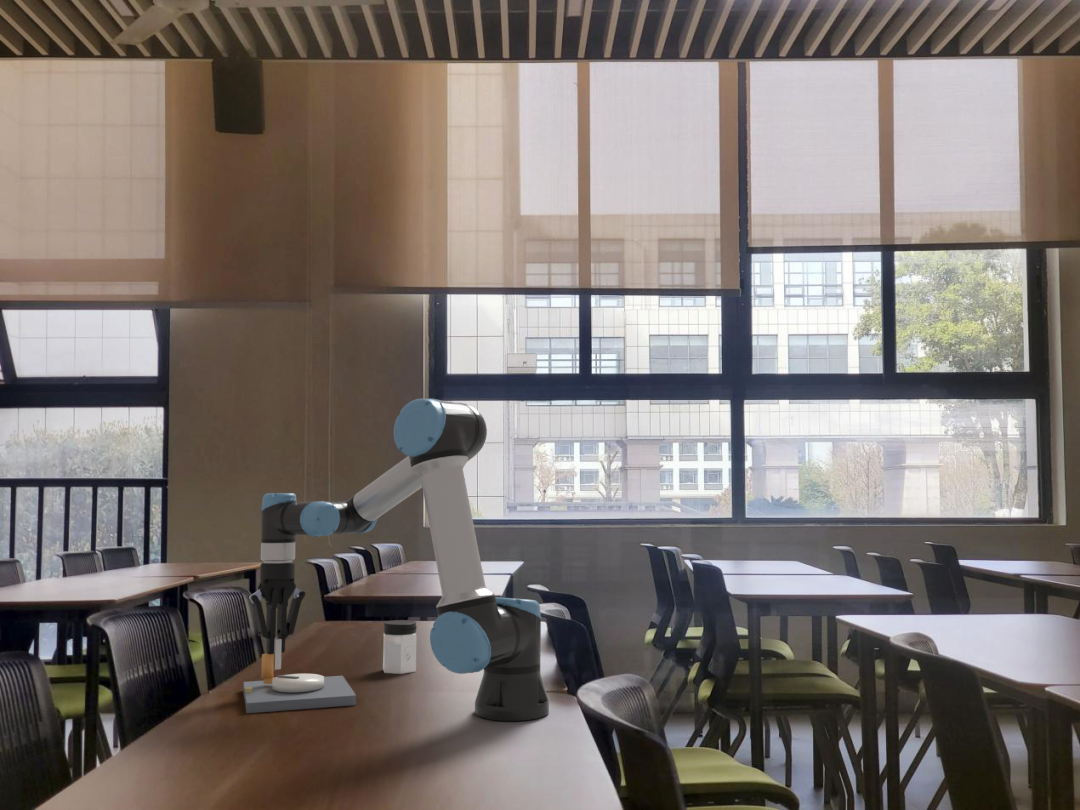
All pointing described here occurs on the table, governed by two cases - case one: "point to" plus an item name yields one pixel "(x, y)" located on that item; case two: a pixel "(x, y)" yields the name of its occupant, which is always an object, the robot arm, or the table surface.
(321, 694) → the panel
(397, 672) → the jar
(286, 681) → the dial
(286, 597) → the robot arm
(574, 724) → the table surface
